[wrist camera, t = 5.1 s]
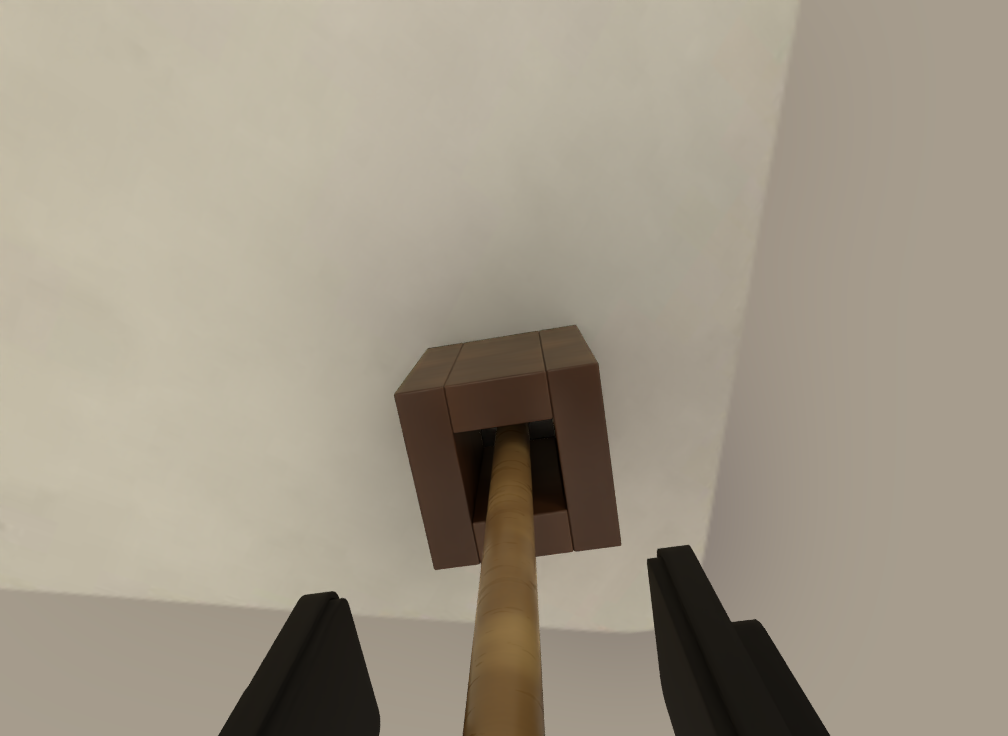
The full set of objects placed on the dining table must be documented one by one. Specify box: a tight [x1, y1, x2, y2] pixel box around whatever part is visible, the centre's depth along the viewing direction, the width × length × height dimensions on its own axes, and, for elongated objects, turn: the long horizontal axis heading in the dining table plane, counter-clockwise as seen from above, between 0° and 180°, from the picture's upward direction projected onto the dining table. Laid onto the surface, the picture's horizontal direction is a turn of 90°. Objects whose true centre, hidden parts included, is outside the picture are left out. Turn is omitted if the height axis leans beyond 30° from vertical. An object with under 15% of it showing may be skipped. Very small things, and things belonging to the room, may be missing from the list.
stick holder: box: [394, 325, 621, 570], centre depth 19 cm, size 6×6×6 cm
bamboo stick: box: [463, 422, 545, 736], centre depth 13 cm, size 1×1×18 cm
